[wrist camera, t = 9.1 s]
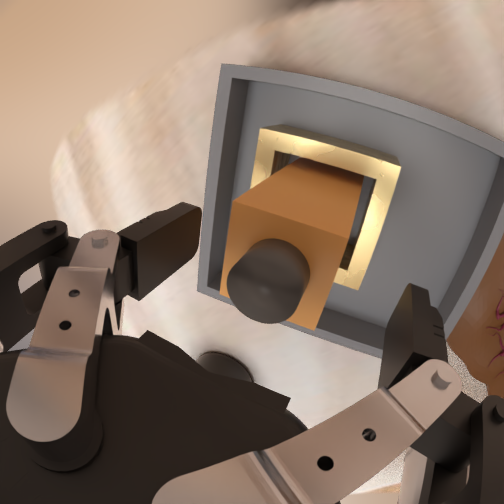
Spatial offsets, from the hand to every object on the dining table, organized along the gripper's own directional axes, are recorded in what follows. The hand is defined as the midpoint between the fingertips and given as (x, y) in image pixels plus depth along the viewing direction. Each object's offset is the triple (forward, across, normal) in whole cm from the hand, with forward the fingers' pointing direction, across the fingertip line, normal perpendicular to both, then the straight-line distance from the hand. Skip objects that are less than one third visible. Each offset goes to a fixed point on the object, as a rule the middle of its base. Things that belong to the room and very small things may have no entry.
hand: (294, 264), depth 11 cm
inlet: (+11, +1, 0) cm, 11 cm away
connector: (+10, +1, 0) cm, 10 cm away
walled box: (+11, -1, +1) cm, 11 cm away
